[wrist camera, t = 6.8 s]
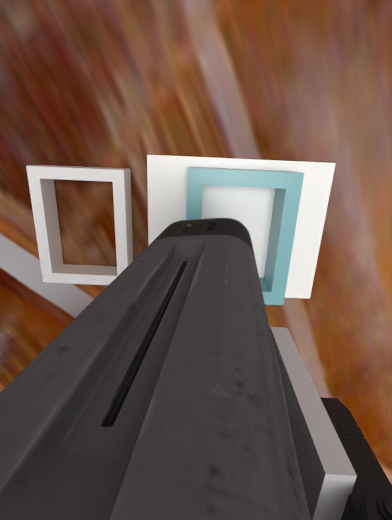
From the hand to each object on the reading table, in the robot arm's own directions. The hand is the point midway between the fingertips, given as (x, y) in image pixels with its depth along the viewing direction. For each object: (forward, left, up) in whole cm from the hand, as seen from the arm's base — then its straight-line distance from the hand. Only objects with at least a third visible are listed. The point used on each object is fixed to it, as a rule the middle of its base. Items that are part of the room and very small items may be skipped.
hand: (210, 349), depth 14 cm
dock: (+4, 0, -23) cm, 23 cm away
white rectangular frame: (-13, 0, -23) cm, 26 cm away
